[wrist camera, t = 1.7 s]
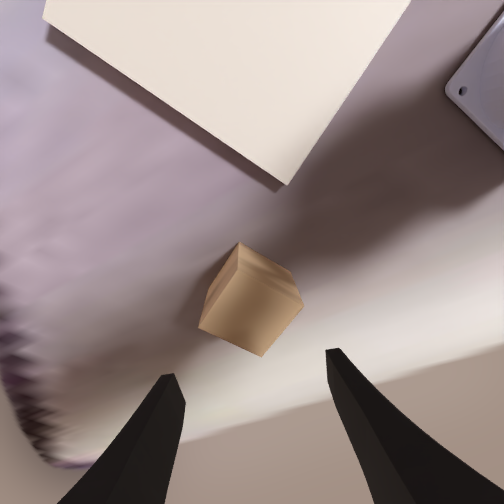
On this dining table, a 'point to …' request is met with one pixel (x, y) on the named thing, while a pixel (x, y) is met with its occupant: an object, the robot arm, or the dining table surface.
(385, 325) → the dining table surface
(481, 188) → the dining table surface
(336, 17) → the painted board
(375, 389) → the robot arm
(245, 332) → the oak cube
